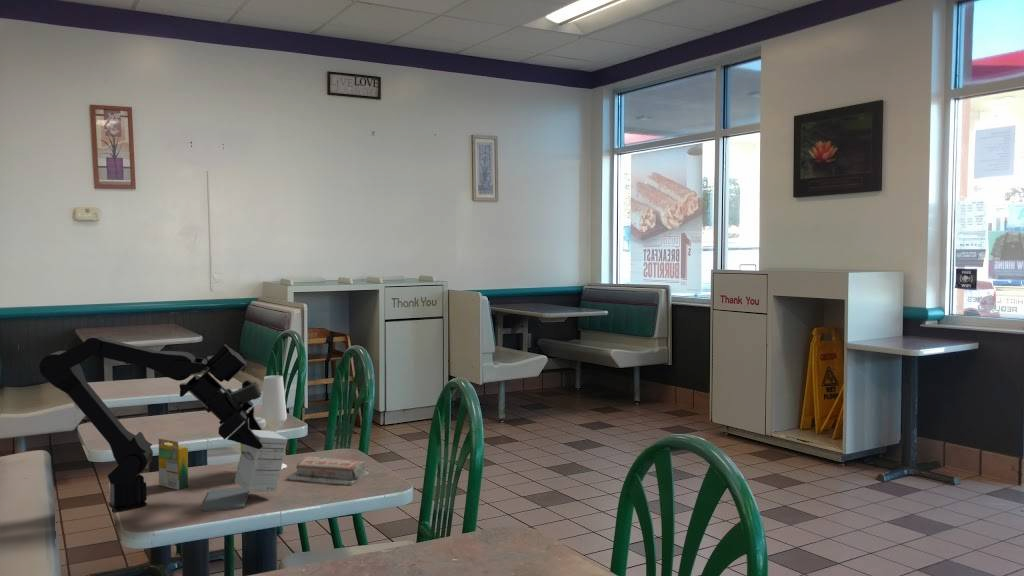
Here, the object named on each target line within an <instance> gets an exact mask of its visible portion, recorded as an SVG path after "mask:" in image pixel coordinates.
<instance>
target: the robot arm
mask: <svg viewBox="0 0 1024 576" xmlns="http://www.w3.org/2000/svg"><path fill="white" fill-rule="evenodd" d="M93 357H101V358H104V359H109V360H112V361H118V362H120V363H121V362H122V363H126V364H130V365H136V366H139V367H143V368H148V369H150V370H152V371H154V372H156V373H158V374H160V375H162V376H164V377H166V378H169V379H171V380H174V381H184V380H186V379H188V378H189V377H191V376H192V375H193V376H192V377H191V378H190V379H189V380H188V381H187V382H186V383H185V382H181V383H180V384H179V389H180V390H179V397H181V398H183V397H184V396H185V395H186V394H187V393H188V392H189V393H190V394H191V395H193V397H194V398H195V399H197V400H198V401H199V402H200V403H201V404H202V405H203V406H204V407H205V408H206V409H205V411H206V412H207V413H208V414H209V413H211V414H212V415H214V416H215V417H216V419H218V420H219V422H218V424H220V425H219V427H218V435H219V436H221V438H222V439H224V440H227V441H232V442H235V443H238V444H239V443H240V444H241V443H242V444H245V445H248V446H251V447H253V448H256V449H261V448H262V447H263V445H262V444H261V442H260V441H259V440H258V438H257V437H256V436H255V434H254V433H253V432H252V430H262V429H261V427H260V426H259V424H258V422H257V421H256V419H255V417H254V416H255V406H254V403H253V402H252V401H255V400H257V399H259V398H262V395H263V392H262V391H261V390H260V386H259V384H258V383H257V382H256V381H251V380H249V379H247V380H245V381H243V382H242V383H241V387H240V388H238V389H237V390H235V391H233V390H232V389H231V388H225V387H224V386H223V385H222V384H221V383H223V381H226V382H230V381H231V380H232V379H233V378H234V377H235V376H236V375H238V374H239V372H240V371H242V370H243V369H244V368H245V367H246V366H247V365H248V363H247V361H246V360H245V359H244V358H243V356H242V355H240V353H239V352H236V351H235V350H234V349H232V348H231V347H229V346H228V345H227V344H226V343H225V344H224V345H222V346H221V347H220V348H219V349H218V351H217V352H216V353H215V354H214V355H213V356H212V357H210V359H209V358H202V357H196V356H195V355H194V354H193V353H191V352H188V351H177V350H155V349H150V348H146V347H144V346H143V347H142V346H138V345H134V344H129V343H125V342H121V341H117V340H114V339H113V340H112V339H110V338H109V339H108V338H105V337H103V336H100V335H94V336H91V337H89V338H87V339H86V340H85V341H83V342H81V343H80V344H78V345H76V346H73V347H72V348H70V349H68V350H58V351H56V352H53V353H51V354H48V355H46V356H44V357H43V358H42V359H41V361H40V362H39V367H38V372H39V374H40V375H41V377H42V378H43V379H45V380H46V381H47V382H48V383H49V384H51V385H52V386H53V387H54V388H56V389H58V390H60V391H62V392H63V393H65V394H67V396H68V397H69V398H70V400H72V401H73V402H74V404H75V405H76V406H77V407H78V408H79V410H80V411H81V412H82V413H83V414H84V416H85V417H86V418H87V420H89V421H90V423H91V424H92V425H93V426H94V427H95V429H96V430H97V431H98V432H99V434H101V436H102V437H103V438H104V439H105V440H106V442H107V443H108V445H109V448H110V450H111V453H112V456H113V459H114V460H115V462H116V463H117V465H116V466H115V467H114V468H113V469H112V471H110V473H109V474H107V478H108V481H109V497H110V499H109V501H110V502H109V501H108V502H107V505H108V506H109V507H110V508H111V509H112V508H113V509H112V510H113V511H115V512H121V511H125V510H131V509H135V508H136V509H137V508H140V507H145V506H147V505H148V503H147V499H148V498H147V483H146V481H145V478H144V477H145V476H143V475H142V473H143V472H144V470H145V469H146V468H147V467H148V466H149V465H150V463H151V462H152V460H153V456H154V451H153V449H152V446H153V443H151V442H149V441H148V440H147V439H146V438H145V436H144V434H143V432H142V431H139V432H137V433H136V434H134V433H132V432H131V431H129V430H127V428H126V427H125V426H124V425H123V424H122V423H121V422H120V420H119V419H118V418H117V416H115V414H114V413H113V412H112V411H111V409H110V408H109V407H108V406H107V404H106V403H105V402H104V401H103V400H102V399H101V397H100V395H98V394H97V392H96V391H95V390H94V389H93V388H92V387H91V385H90V384H89V383H88V382H87V380H86V376H85V373H84V370H83V368H82V366H81V364H82V363H83V362H85V361H87V360H89V359H91V358H93ZM206 368H207V370H206V371H205V372H204V373H203V374H202V375H201V376H199V375H196V374H199V373H201V372H203V371H204V370H205V369H206ZM218 381H219V382H218ZM220 382H221V383H220Z"/></svg>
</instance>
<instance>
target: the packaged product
mask: <svg viewBox="0 0 1024 576" xmlns="http://www.w3.org/2000/svg"><path fill="white" fill-rule="evenodd" d="M365 463H366V462H365V461H364V460H363V461H362V460H351V459H343V458H330V457H319V456H304V457H302V459H301V460H300V461H299V462H298V463H297V464H296V467H295V469H296V471H294V472H292V473H290V474H289V475H288V476H286V478H287V480H288V479H290V481H303V482H310V483H311V482H312V483H319V482H321V483H322V484H330V483H334V485H343V484H344V485H345V486H354V485H355V484H357V483H358V482H359V480H360V479H361V480H363V479H364V478H366V477H367V475H368V476H369V471H368V470H366V469H365V467H366V465H365ZM365 476H366V477H365ZM363 477H364V478H363ZM362 478H363V479H362ZM361 480H360V481H361ZM357 481H358V482H357ZM321 483H320V484H321ZM354 483H355V484H354Z"/></svg>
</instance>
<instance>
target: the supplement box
mask: <svg viewBox="0 0 1024 576" xmlns="http://www.w3.org/2000/svg"><path fill="white" fill-rule="evenodd" d="M252 432H253V433H254V434H255V436H256V437H257V438H258V440H259V441H260V442H261V444H262V445H263V447H262V448H261V449H256V448H253V447H251V446H248V445H245V444H243V446H242V451H241V450H240V457H239V461H238V465H237V468H236V473H235V479H234V484H237V485H238V486H240V487H243V488H245V489H246V490H247V491H249V493H251V492H255V493H256V492H263V493H264V492H277V489H278V484H279V480H280V476H281V475H280V474H281V471H282V469H281V467H282V463H284V462H283V461H284V457H285V454H286V453H285V452H286V447H287V443H288V438H287V437H285V436H283V435H280V434H279V433H278V432H276V433H275V432H273V431H271V430H266V431H264V430H252Z"/></svg>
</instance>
